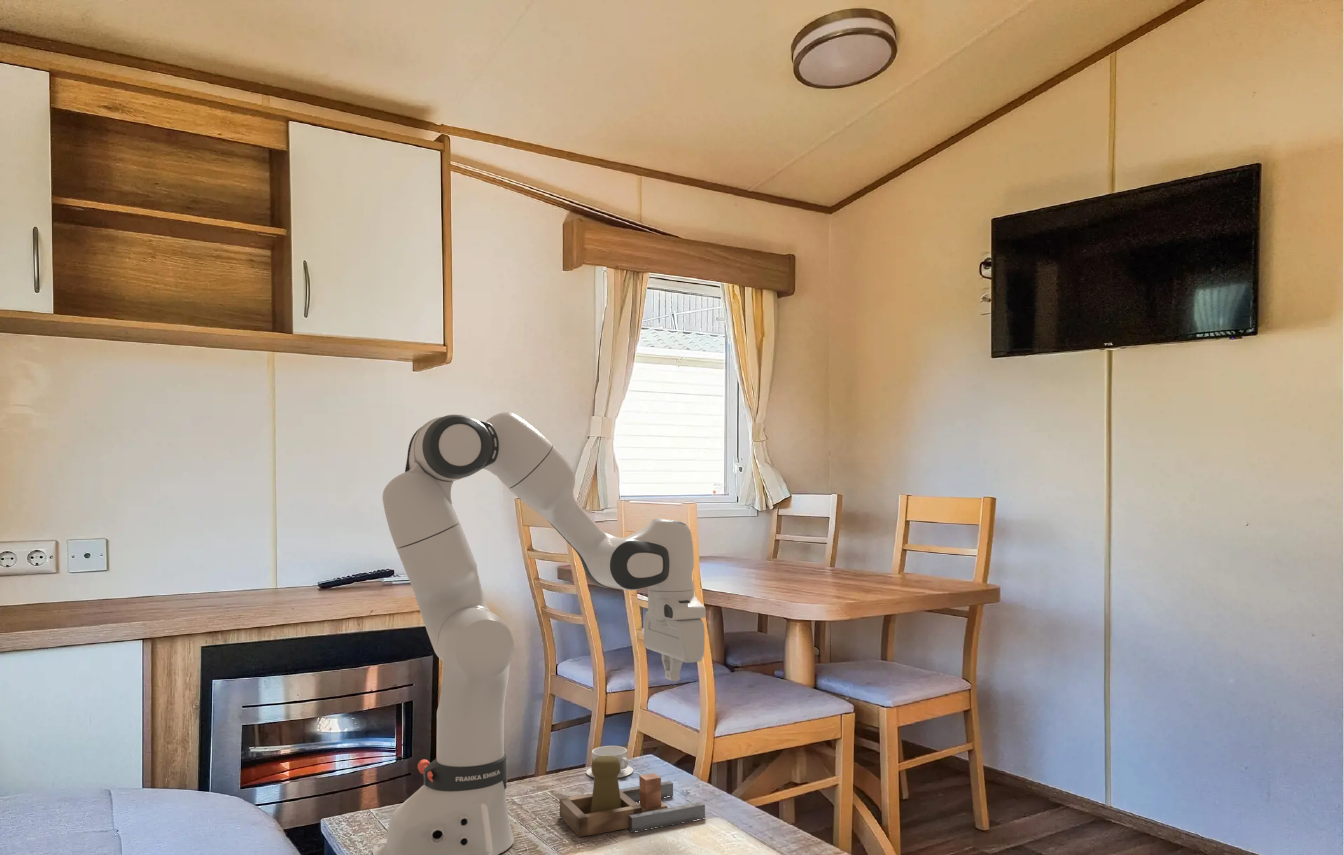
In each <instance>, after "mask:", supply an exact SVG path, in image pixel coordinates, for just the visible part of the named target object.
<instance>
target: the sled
mask: <svg viewBox="0 0 1344 855" xmlns="http://www.w3.org/2000/svg"><path fill="white" fill-rule="evenodd" d="M638 778H639V780H638V781H639V782H638V783H639V785H638V786H640V803H636V802H634V801H633V800H632V799H631V798H629V797H628V796H627V795H626V794H624V793H623V792H622V791H620V790H619V791H620V798H621V806H622V808H618V809H612V810H607V811H601V812H595V813H591V804H592V796H593V793H588V794H584V795H583V794H582V795H576V796H570V797H564V798H559V817H560V818H561V819H562V820H563V822H564V823H565V824H566V825H567V826H568V827H569V828H570V829H571V830H572V831H573V832H574V833H575V834H576V835H577V836H578V837H579V838H581V837H586V836H592V835H597V834H603V833H607V832H609V833H610V832H613V831H619V830H624V829H629V815H632V814H638V813H643V812H649V811H655V810H660V809H666V808H669V807H668V805H667V804H665V803H664V802H663V801H662V799H661V782H662V777H661V776H659V775H658V774H656V773H655V772H654V773H647V774H640V775H639V776H638Z"/></svg>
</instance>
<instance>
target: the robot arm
mask: <svg viewBox="0 0 1344 855" xmlns="http://www.w3.org/2000/svg"><path fill="white" fill-rule="evenodd" d="M404 469H405V470H404V472H403V473H401V474H398V475H397V476H395V477H394V478H392V479H391V480H390V481H389V482H388V483H387V484H386V485H385V487H384V489H383V492H382V504H383V509H384V513H385V514H384V515H385V518H386V522H387V525H388V529H389V533H390V535H391V538H392V541H393V544H394V546H395V548H396V551H397V554H398V556H399V559H400V561H401V563H402V565H403V568H404V571H405V573H406V575H407V579H408V581H409V582H410V585H411V588H412V590H413V591H412V592H414V596H415V599H416V602H417V606H418V609H419V611H420V615H421V618H422V620H423V624H424V627H425V629H426V633H427V635H428V637H429V641H430V643H431V646H432V648H433V651H434V653H435V654H436V656H437V658H439V660H440V661H442V677H441V678H442V679H441V688H440V696H439V702H438V707H437V710H436V758H435V759H433V760H432V761H431V762H430V761H429V760H428V759H426V758H425V759H421V760H419V762H418V763H417V769H418V771H419V773H420V774H422V775H423V785H421V786H420V788H418V789H417V790H416V791H415V792H414V793H413V794H412V795H411V796H410V797H408V798H407V799H406V800H405V801H404V802H402V804H400V805H399V806H398V807H396V808H395V809H394V811H393V812H392V814H391V816H390V820H389V822H388V823H389V824H388V828H387V832H386V838H383V839H380V840H378V841H377V842H376V843H375V844H374V846H373V848H372V852H373V855H500V854H501V853H504V852H505V851H507V850H508V849H509V848H511V846H513V843H515V837H514V835H513V831H512V827H511V823H510V818H509V812H508V804H507V797H506V789H507V783H508V760H507V754H506V753H505V703H506V695H507V690H508V684H509V679H510V678H509V677H510V669H511V668H510V667H511V661H512V658H513V657H514V656H513V655H514V650H515V643H514V638H513V634H512V631H511V630H510V627H509V626H508V624H507V623H506V622H505V620H504V619H503V618H501V617H500V616H499V615H498V614H495V613H493V612H492V611H491V610H490V609H489V607H488V604H487V602H486V598H485V595H484V592H483V589H482V584H481V580H480V577H479V572H478V565H477V562H476V560H475V557H474V554H473V552H472V549H471V548H470V544H469V542H468V540H467V538H466V534H465V532H464V529H463V527H462V525H461V522H460V519H459V518H458V516H457V515H458V514H457V513H456V511H455V509H454V507H453V502H452V494H451V492H452V487H453V484H454V482H455V481H459V480H461V479H464V478H468V477H471V476H472V475H474V474H476V473H477V472H479V471H481V470H482V469H483V470H487V471H488V472H490V473H492V474H493V475H494V476H497V478H498V479H499V480H500V481H501V482H502V483H503V484H504V485H505V486H506V487H507V488H508V489H509V490H510V491H511V492H512V493H513V494H514V495H515V496H516V497H517V498H518V499H519V500H521V501H522V502H523V503H524V504H525V505H527V506H528V507H529V508H530V509H532V510H533V511H535V512H536V513H538V515H540V516H541V517H542V518H544V519H545V520H546V521H547V522H548V523H549V524H550V525H551V526H552V527H553V528H554V529H555V531H556V532H557V533H558V534H559V535H560V536H561V537H562V538H563V539H564V541H566V543H567V544H569V546H570V547H571V548H572V549H573V550H574V551H575V552H576V554H577V555H578V557H579V559H580V562H581V564H582V567H583V570H584V572H585V575H586V576H587V577H588V579H589V580H590V581H591V582H592V583H593V584H594V585H596V586H598V587H600V588H603V589H604V588H605V589H617V590H625V591H637V590H641V589H644V588H647V611H646V612H645V615H644V618H643V619H644V620H643V636H642V637H643V640H642V641H643V644H644V645H643V646H644V648H645V649H648V650H650V651H653V652H656V653H658V654H661V662H662V665H663V668H664V678H665V679H667V680H669V681H671V682H678V681H680V678H681V674H680V672H681V669H682V665H683V663H685V664H686V663H687V664H689V663H699V662H702V660H703V658H704V655H705V622H704V621H703V620H702V619H705V618H706V616H707V613H706V612H707V611H706V607H705V605H704V604H703V603H702V602H700V600H699V599H698V598H697V596H696V595H695V585H694V582H693V570H694V567H695V560H694V559H695V556H694V544H693V537H692V532H691V529H690V527H689V526H688V525H687V524H686V523H684V522H681V521H680V520H679V521H678V520H672V519H665V518H655V519H652V520H651V521H650V522H649V523H648V524H647V525H645V526H644V527H643V528H641V529H639V530H637V531H636V532H634V533H632V534H629V535H627V536H626V537H618V536H614V535H612V534H609V533H607V532H605V531H603V530H602V528H600V527H599V526H598V525H597V524H596V522H594V521H593V519H592V518H591V517H590V516H589V514H587V513H586V511H585V510H584V509H583V508H581V506H580V505H579V504H578V502H577V501H576V499H575V495H574V489H575V485H576V474H575V471H574V469H573V467H572V466H571V465H570V463H569V461H568V460H567V459H566V457H565V456H564V455H563V454H562V453H561V451H560V450H558V448H557V447H556V446H555V445H554V444H553V443H552V442H551V441H550V440H549V439H548V438H547V437H546V436H545V435H543V433H541V432H540V431H539V430H538V429H537V428H535V427H534V426H533V425H532V424H530V423H529V422H527V421H526V420H525V419H524V418H522V417H521V416H519V415H517V414H515V413H513V412H510V411H504V412H499V413H496V414H494V415H492V416H491V417H488V419H487V420H485V421H483V420H480V419H477V418H474V417H470V416H467V415H463V414H462V415H461V414H448V415H445V416H439V417H436V418H434V419H433V418H432V419H430V420H429V421H427V422H426V423H424V424H423V425H422V426H421V427H419V428H418V429H417V430H416V431H415V432H414V433H413V435H412V437H411V438H410V441H409V444H408V449H407V457H406V464H405V468H404ZM381 845H382V846H383V847H378V846H381Z"/></svg>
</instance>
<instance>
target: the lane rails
mask: <svg viewBox="0 0 1344 855" xmlns="http://www.w3.org/2000/svg"><path fill="white" fill-rule="evenodd" d="M619 790H620V791H622V792H623V793H624V794H626V795H627V796H628V797H629V798H631V799H632V800H633V801H634V802H639V801H640V785H638V786H637V785H636V786H632V787H631V786H630V787H625V788H619ZM667 796H673V797H674V783H673V782H672V781H670V780H668V781H661V798H663V799H665V798H664V797H667ZM703 818H705V819H706V804H705V803H703V802H702V801H700V802H695V803H689V804H684V805H678V806H672V807H668V808H666V809H660V810H655V811H649V812H643V813H638V814H632V815H629V828H628V831H629V830H630V831H632V832H635V831H641V832H643V831H642V830H645V829H651V828H655V827H661V826H667V827H669V826H668V825H672V824H677V825H679V824H678V823H682V822H688V823H691V822H690V821H693V820H697V819H703ZM693 822H694V821H693ZM672 826H673V825H672ZM651 830H652V829H651ZM630 831H629V832H630ZM632 832H631V833H632ZM635 833H636V832H635Z"/></svg>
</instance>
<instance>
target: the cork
mask: <svg viewBox="0 0 1344 855" xmlns="http://www.w3.org/2000/svg"><path fill="white" fill-rule="evenodd" d="M590 768H591V770H592V774H593V775H594V777H593V778H594V780H593V786H592V787H593V789H592V794H593V796H592V804H591V813H595V812H601V811H607V810H612V809H618V808H622V806H621V798H620V791H619V789H620V786H619V785H620V784H619V778H618V777H617V776H618V774H619V772H620V761H619V760H618V758H616V757H614V756H608V755H607V756H599V757H597V758H595V759H594V760H593V759H592V763H591V767H590Z"/></svg>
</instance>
